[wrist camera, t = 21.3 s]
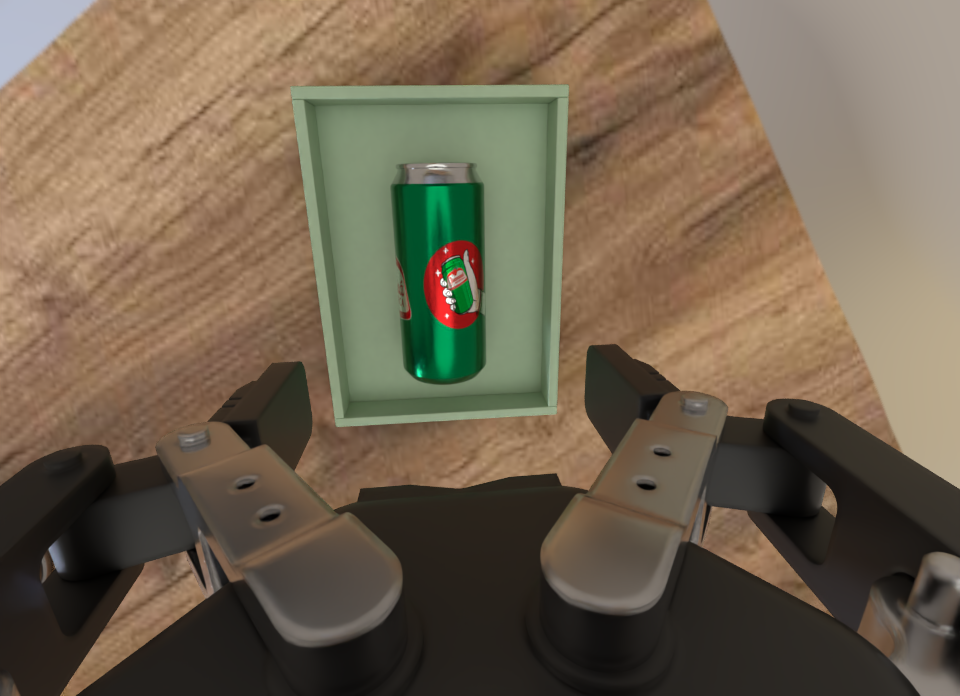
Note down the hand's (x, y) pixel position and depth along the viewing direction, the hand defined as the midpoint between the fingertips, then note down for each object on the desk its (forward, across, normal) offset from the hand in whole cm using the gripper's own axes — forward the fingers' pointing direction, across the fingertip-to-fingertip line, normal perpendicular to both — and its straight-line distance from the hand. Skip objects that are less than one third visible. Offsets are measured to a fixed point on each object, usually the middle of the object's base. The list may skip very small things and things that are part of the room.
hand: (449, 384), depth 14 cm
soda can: (+15, 0, +6) cm, 16 cm away
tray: (+18, 0, 0) cm, 18 cm away
